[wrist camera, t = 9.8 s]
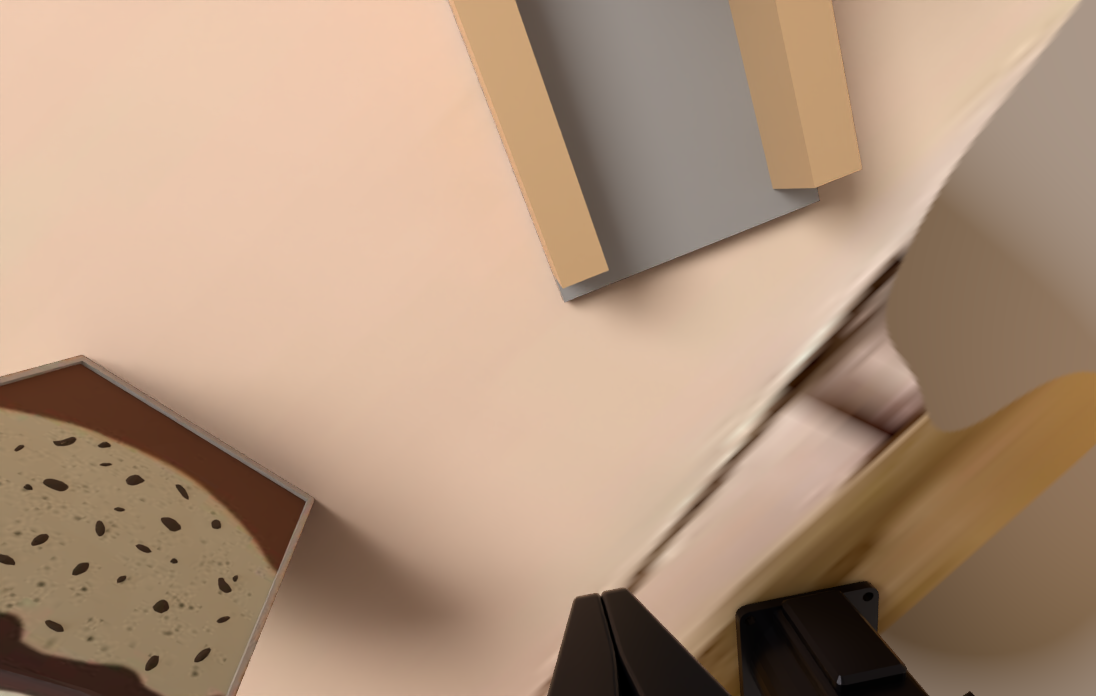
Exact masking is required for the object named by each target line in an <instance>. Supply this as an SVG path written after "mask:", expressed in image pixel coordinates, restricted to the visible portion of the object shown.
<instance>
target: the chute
mask: <svg viewBox="0 0 1096 696" xmlns="http://www.w3.org/2000/svg"><path fill="white" fill-rule="evenodd" d="M448 2H449V4H450V7H451V10H452V12H453V15H454V17H455V20H456V23H457V25H458V28H459V30H460V33H461V36H462V38H463V41H464V43H465V46H466V49H467V51H468V54H469V57H470V59H471V62H472V64H473V67H474V70H475V72H476V75H477V77H478V80H479V83H480V85H481V88H482V90H483V93H484V96H485V98H486V101H487V103H488V106H489V109H490V111H491V114H492V117H493V119H494V122H495V124H496V127H497V130H498V132H499V135H500V137H501V140H502V143H503V145H504V148H505V150H506V153H507V156H508V158H509V161H510V163H511V166H512V169H513V171H514V174H515V177H516V179H517V182H518V184H519V187H520V190H521V192H522V195H523V197H524V200H525V203H526V205H527V208H528V210H529V213H530V216H531V218H532V221H533V223H534V226H535V229H536V231H537V234H538V237H539V239H540V242H541V244H542V247H543V250H544V252H545V255H546V257H547V260H548V263H549V265H550V268H551V270H552V273H553V276H554V278H555V281H556V284H557V286H558V289H559V291H560V294H561V297H562V299H563V301H564V302H567V301H569V300H572V299H574V298H577V297H579V296H582V295H584V294H587V293H589V292H592V291H594V290H597V289H599V288H602V287H604V286H607V285H609V284H612V283H614V282H617V281H619V280H622V279H624V278H627V277H629V276H632V275H634V274H637V273H639V272H642V271H644V270H647V269H649V268H652V267H655V266H657V265H660V264H662V263H665V262H667V261H670V260H672V259H675V258H677V257H680V256H682V255H685V254H687V253H690V252H692V251H695V250H697V249H700V248H702V247H705V246H707V245H710V244H712V243H715V242H717V241H720V240H722V239H725V238H727V237H730V236H732V235H735V234H737V233H740V232H742V231H745V230H747V229H750V228H752V227H755V226H757V225H760V224H762V223H765V222H767V221H770V220H772V219H775V218H777V217H780V216H783V215H785V214H788V213H790V212H793V211H795V210H798V209H800V208H803V207H805V206H808V205H810V204H813V203H815V202H818V201H820V200H819V195H818V190H817V187H819V186H821V185H824V184H826V183H829V182H831V181H834V180H836V179H839V178H841V177H844V176H846V175H849V174H851V173H854V172H856V171H859V170H861V169H862V165H861V160H860V154H859V149H858V143H857V138H856V132H855V127H854V121H853V116H852V110H851V105H850V99H849V94H848V88H847V83H846V77H845V72H844V66H843V61H842V55H841V50H840V44H839V39H838V33H837V28H836V22H835V17H834V11H833V6H832V1H831V0H448Z"/></svg>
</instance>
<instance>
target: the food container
mask: <svg viewBox="0 0 1096 696" xmlns="http://www.w3.org/2000/svg"><path fill="white" fill-rule="evenodd" d="M314 500H315V499H314V498H313V497H311V496H310V495H308V494H306V493H305V492H303V491H302V490H300V489H298V488H297V487H295V486H293V485H292V484H290V483H289V482H287V481H285V480H284V479H282V478H280V477H279V476H277V475H276V474H274V473H272V472H271V471H269V470H267V469H266V468H264V467H263V466H261V465H259V464H258V463H256V462H255V461H253V460H251V459H250V458H248V457H246V456H245V455H243V454H242V453H240V452H238V451H237V450H235V449H233V448H232V447H230V446H229V445H227V444H225V443H224V442H222V441H220V440H219V439H217V438H216V437H214V436H212V435H211V434H209V433H208V432H206V431H204V430H203V429H201V428H199V427H198V426H196V425H195V424H193V423H191V422H190V421H188V420H186V419H185V418H183V417H182V416H180V415H178V414H177V413H175V412H173V411H172V410H170V409H169V408H167V407H165V406H164V405H162V404H161V403H159V402H157V401H156V400H154V399H152V398H151V397H149V396H148V395H146V394H144V393H143V392H141V391H139V390H138V389H136V388H135V387H133V386H131V385H130V384H128V383H126V382H125V381H123V380H122V379H120V378H118V377H117V376H115V375H114V374H112V373H110V372H109V371H107V370H105V369H104V368H102V367H101V366H99V365H97V364H96V363H94V362H92V361H91V360H89V359H88V358H86V357H84V356H83V355H80V356H76V357H72V358H68V359H65V360H61V361H57V362H54V363H50V364H46V365H42V366H39V367H35V368H31V369H27V370H24V371H20V372H16V373H12V374H9V375H5V376H1V377H0V696H236V694H237V691H238V689H239V686H240V684H241V681H242V679H243V676H244V674H245V671H246V669H247V666H248V664H249V661H250V659H251V656H252V654H253V651H254V649H255V646H256V644H257V642H258V639H259V637H260V634H261V632H262V629H263V627H264V624H265V622H266V619H267V617H268V614H269V612H270V609H271V607H272V604H273V602H274V599H275V597H276V594H277V592H278V589H279V587H280V584H281V582H282V579H283V577H284V574H285V572H286V570H287V567H288V565H289V562H290V560H291V557H292V555H293V552H294V550H295V547H296V545H297V542H298V540H299V537H300V535H301V532H302V530H303V527H304V525H305V522H306V520H307V517H308V515H309V512H310V510H311V507H312V505H313V502H314Z"/></svg>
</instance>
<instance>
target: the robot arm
mask: <svg viewBox="0 0 1096 696" xmlns="http://www.w3.org/2000/svg"><path fill="white" fill-rule="evenodd" d="M878 600H879V594H878V591H877V590H876V589H875V588H874V587H873V585H872V584H871V583H869V582H867V581H863V582H858V583H853V584H848V585H843V586H838V587H833V588H828V589H823V590H818V591H813V592H808V593H803V594H798V595H793V596H788V597H784V598H779V599H774V600H769V601H764V602H759V603H754V604H749V605H745V606H742V607H741V608H739V609H738V611H737V612H736V630H737V646H738V661H739V676H740V692H741V696H929V695H928V694H927V693H926V692H925V690H924V689H923V688H922V687H921V686H920V685H919V684H918V682H917V681H916V680H915V679H914V678H913V676H912V675H911V674H910V673H909V672H908V671H907V668H906V666H905V664H904V663H903V662H902V661H901V660H900V658H899V657H898V656H897V655H896V654H895V653H894V652H893V650H892V649H891V648H890V647H889V646H888V645H887V644H886V642H885V641H884V640H883V639H882V638H881V636H880V635H879V634H878V633H877V627H878ZM749 616H750V617H749ZM747 617H749V618H747ZM547 696H731V695H730V694H729V693H728V692H727V691H726V690H725V688H724V687H723V686H722V685H721V684H720V683H719V682H718V681H717V680H716V679H715V678H714V677H713V676H712V675H711V674H710V673H709V672H708V671H707V670H706V669H705V668H704V667H703V666H702V665H701V664H700V663H699V662H698V661H697V660H696V659H695V658H694V657H693V656H692V655H691V654H690V653H689V652H688V650H687V649H686V648H685V647H684V646H683V645H682V644H681V643H680V642H679V641H678V640H677V639H676V638H675V637H674V636H673V635H672V634H671V633H670V632H669V631H668V630H667V629H666V628H665V627H664V626H663V625H662V624H661V623H660V622H659V621H658V620H657V619H656V618H655V617H654V616H653V615H652V614H651V612H650V611H649V610H648V609H647V608H646V607H645V606H644V605H643V604H642V603H641V602H640V601H639V600H638V599H637V598H636V597H635V596H634V595H633V594H632V593H631V592H630V591H629V590H628V589H626V588H618V589H613V590H608V591H604V592H603V593H602V595H601V596H600V595H599V594H598V593H593V594H588V595H583V596H578V597H576V598H575V599H574V601H573V604H572V608H571V611H570V615H569V618H568V622H567V626H566V629H565V633H564V637H563V640H562V644H561V648H560V651H559V655H558V658H557V662H556V666H555V669H554V673H553V677H552V680H551V684H550V688H549V691H548V695H547ZM963 696H974V695H973V694H972V693H971V692H970V691H969V692H968V693H967V694H965V695H963Z"/></svg>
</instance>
